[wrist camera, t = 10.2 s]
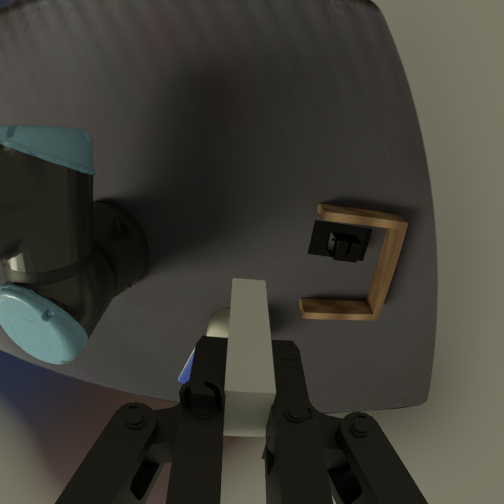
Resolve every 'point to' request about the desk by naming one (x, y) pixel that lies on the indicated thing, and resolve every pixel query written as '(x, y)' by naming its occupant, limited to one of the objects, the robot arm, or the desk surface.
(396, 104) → the desk surface
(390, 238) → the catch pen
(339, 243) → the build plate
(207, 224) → the desk surface
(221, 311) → the cream cylinder
